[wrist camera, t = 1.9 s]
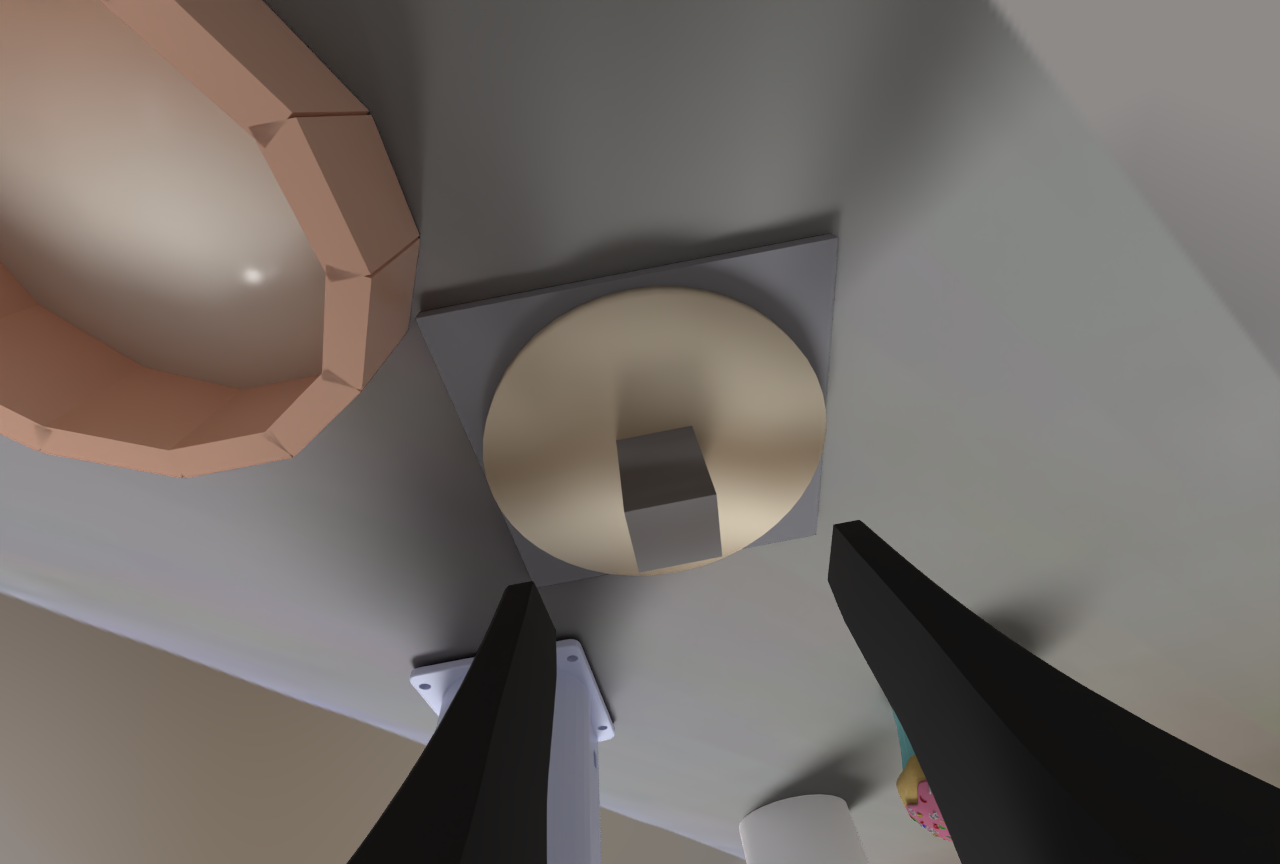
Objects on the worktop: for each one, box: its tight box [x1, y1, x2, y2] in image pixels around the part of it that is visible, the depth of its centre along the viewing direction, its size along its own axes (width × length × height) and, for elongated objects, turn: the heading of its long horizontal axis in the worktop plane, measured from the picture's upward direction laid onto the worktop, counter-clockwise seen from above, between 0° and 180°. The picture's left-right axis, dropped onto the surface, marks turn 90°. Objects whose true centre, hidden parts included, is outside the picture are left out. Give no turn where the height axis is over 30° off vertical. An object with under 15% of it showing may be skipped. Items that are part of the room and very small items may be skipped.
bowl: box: [0, 0, 420, 478], centre depth 10 cm, size 10×10×4 cm
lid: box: [483, 286, 826, 576], centre depth 15 cm, size 11×11×4 cm
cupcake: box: [893, 710, 953, 842], centre depth 25 cm, size 9×8×12 cm
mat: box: [415, 234, 838, 588], centre depth 16 cm, size 12×12×1 cm
